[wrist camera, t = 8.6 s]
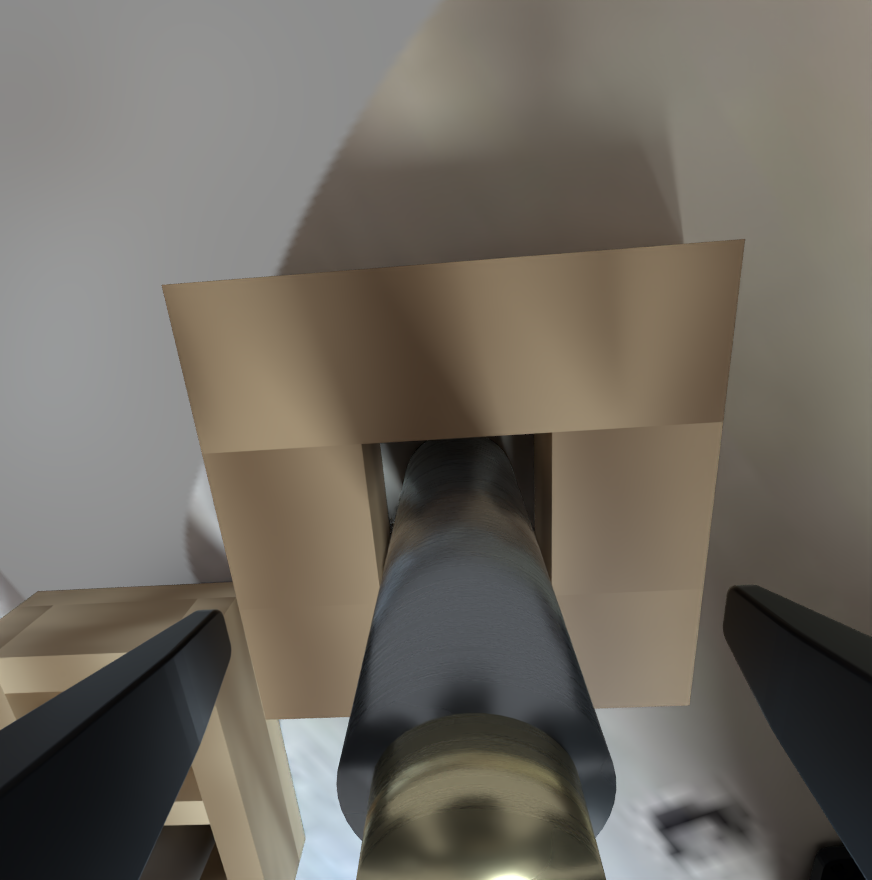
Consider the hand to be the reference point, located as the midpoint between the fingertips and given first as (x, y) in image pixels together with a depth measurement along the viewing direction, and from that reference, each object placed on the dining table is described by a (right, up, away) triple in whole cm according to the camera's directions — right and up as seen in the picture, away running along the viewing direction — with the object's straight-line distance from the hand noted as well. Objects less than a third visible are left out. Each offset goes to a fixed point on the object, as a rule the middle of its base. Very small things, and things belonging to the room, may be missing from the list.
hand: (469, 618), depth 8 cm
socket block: (0, +2, +5) cm, 6 cm away
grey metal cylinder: (0, +2, +5) cm, 6 cm away
